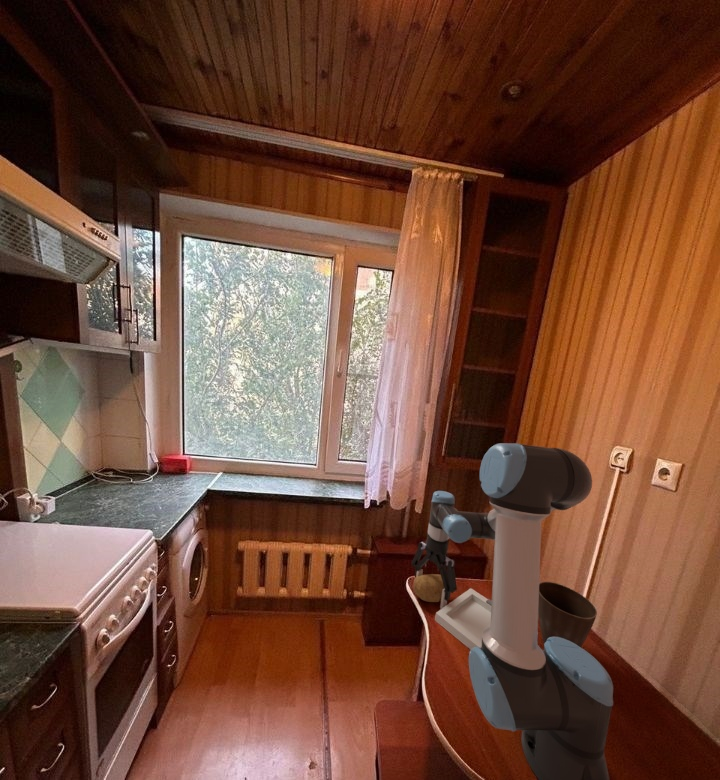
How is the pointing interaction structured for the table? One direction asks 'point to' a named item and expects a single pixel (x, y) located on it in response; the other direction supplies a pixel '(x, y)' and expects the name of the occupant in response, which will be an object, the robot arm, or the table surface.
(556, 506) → the robot arm
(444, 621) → the white rimmed tray
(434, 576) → the potato
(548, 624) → the plant pot
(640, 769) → the table surface
